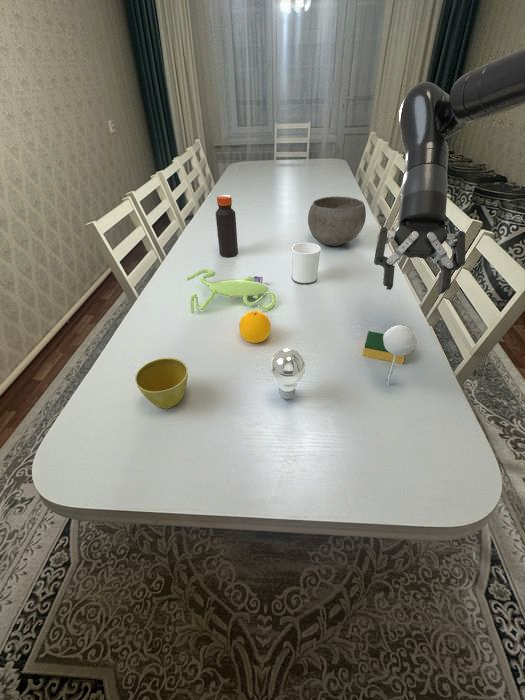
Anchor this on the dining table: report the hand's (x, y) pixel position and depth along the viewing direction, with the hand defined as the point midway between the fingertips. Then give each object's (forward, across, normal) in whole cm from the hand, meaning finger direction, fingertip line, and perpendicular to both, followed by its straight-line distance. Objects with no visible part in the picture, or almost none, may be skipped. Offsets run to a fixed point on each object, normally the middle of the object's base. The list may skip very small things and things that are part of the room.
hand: (415, 290), depth 61 cm
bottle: (-27, -52, +62) cm, 85 cm away
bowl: (-39, -14, +73) cm, 84 cm away
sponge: (+8, 0, +26) cm, 27 cm away
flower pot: (+24, -45, +9) cm, 52 cm away
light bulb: (+21, -21, +13) cm, 32 cm away
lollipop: (+16, 0, +18) cm, 24 cm away
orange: (+8, -31, +26) cm, 42 cm away
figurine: (-6, -43, +40) cm, 59 cm away
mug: (-17, -22, +51) cm, 58 cm away
